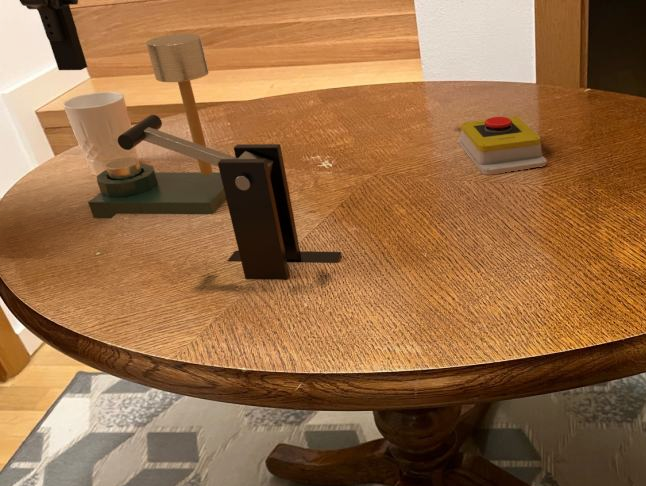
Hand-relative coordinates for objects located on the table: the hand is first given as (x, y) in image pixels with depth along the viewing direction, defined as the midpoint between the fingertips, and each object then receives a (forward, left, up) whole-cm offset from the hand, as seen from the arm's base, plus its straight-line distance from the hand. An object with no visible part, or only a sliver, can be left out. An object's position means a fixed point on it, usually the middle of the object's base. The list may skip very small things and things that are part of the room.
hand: (73, 68), depth 85 cm
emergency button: (+48, +20, -18) cm, 55 cm away
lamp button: (+1, +2, -14) cm, 14 cm away
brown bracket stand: (+27, -18, -18) cm, 37 cm away
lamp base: (+6, +2, -18) cm, 19 cm away
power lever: (+22, -18, -5) cm, 29 cm away
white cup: (-8, +14, -18) cm, 24 cm away
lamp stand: (+12, +2, -14) cm, 18 cm away
